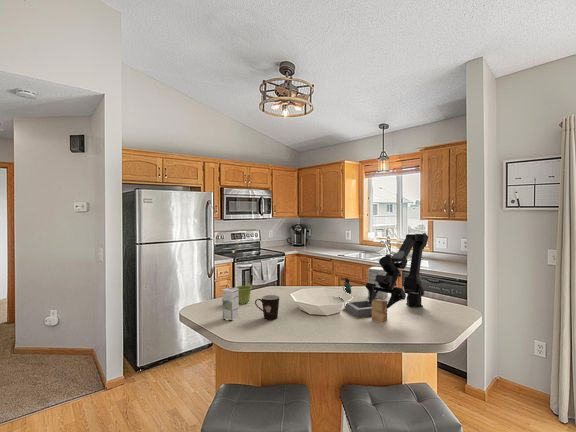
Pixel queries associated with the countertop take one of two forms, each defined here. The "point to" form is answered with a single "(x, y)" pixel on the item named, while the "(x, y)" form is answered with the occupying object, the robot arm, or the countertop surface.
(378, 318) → the oak block
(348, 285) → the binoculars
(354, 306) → the collar
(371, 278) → the supplement box
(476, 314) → the countertop surface
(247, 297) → the plant pot
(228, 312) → the syrup box
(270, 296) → the coffee mug
